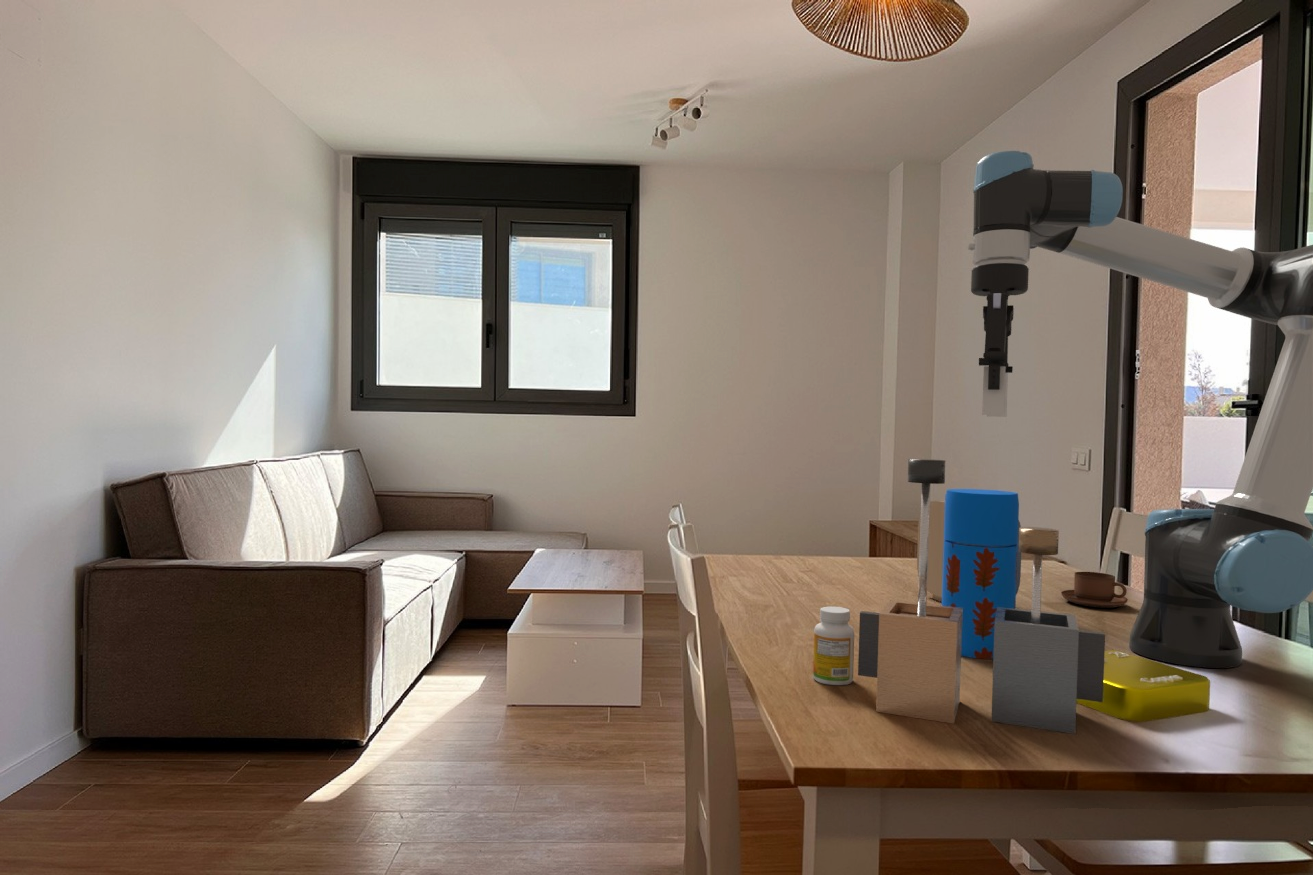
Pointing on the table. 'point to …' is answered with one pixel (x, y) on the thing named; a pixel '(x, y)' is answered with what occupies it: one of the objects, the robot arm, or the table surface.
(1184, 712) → the element tile
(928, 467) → the grey capped rod
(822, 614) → the supplement bottle
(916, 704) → the light wood box
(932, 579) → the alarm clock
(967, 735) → the table surface
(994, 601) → the thermos
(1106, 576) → the cup and saucer
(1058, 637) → the grey box
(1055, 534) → the tan and silver rod
